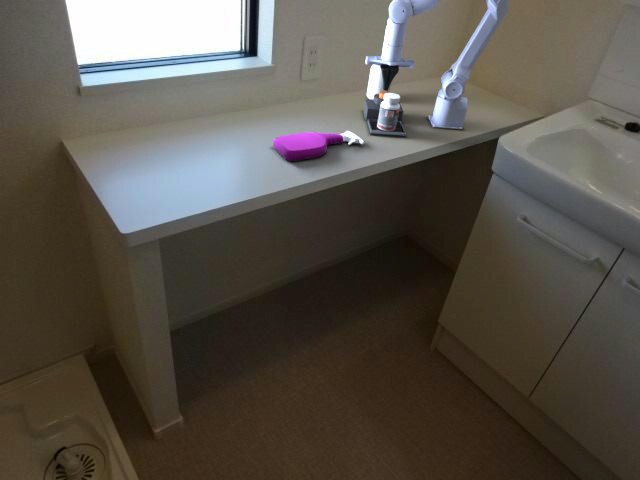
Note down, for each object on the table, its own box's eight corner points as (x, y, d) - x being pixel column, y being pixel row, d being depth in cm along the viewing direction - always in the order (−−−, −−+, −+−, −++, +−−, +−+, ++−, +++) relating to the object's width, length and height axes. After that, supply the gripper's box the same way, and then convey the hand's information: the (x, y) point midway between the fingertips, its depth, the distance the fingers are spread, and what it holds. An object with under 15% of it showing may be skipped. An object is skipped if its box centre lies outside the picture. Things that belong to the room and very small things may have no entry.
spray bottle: (270, 146, 130) (345, 133, 142) (289, 164, 123) (366, 149, 135) (270, 135, 128) (346, 124, 140) (290, 153, 121) (368, 139, 133)
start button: (388, 96, 153) (389, 91, 152) (389, 100, 150) (390, 94, 149) (378, 95, 152) (379, 90, 151) (379, 99, 150) (380, 94, 149)
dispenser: (396, 112, 158) (399, 94, 154) (400, 124, 150) (404, 105, 147) (362, 110, 157) (365, 91, 153) (365, 121, 149) (368, 102, 146)
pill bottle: (396, 132, 143) (403, 100, 137) (377, 131, 143) (383, 98, 137) (394, 124, 148) (400, 93, 142) (376, 123, 147) (381, 91, 141)
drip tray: (400, 125, 150) (401, 121, 149) (405, 137, 143) (406, 133, 142) (367, 122, 149) (367, 118, 148) (370, 135, 142) (371, 130, 141)
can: (380, 104, 162) (386, 68, 154) (362, 98, 165) (367, 62, 158) (391, 99, 167) (398, 64, 159) (373, 93, 170) (379, 58, 163)
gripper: (370, 45, 138) (363, 92, 146) (420, 49, 139) (410, 96, 147) (367, 38, 143) (361, 84, 151) (415, 43, 144) (406, 87, 153)
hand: (385, 89), depth 150 cm, fingers closed
